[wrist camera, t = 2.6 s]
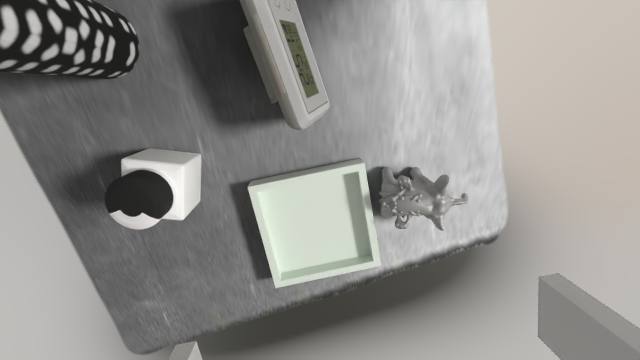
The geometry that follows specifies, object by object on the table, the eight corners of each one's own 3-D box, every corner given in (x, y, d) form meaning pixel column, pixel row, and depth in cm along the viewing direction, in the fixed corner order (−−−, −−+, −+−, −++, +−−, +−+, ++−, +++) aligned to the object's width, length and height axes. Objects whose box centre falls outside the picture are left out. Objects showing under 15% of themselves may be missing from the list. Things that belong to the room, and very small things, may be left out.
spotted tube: (113, -7, 37) (-83, -109, 18) (152, 61, 40) (14, 34, 20) (53, 24, 38) (-200, -45, 19) (95, 89, 40) (-92, 88, 21)
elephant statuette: (365, 171, 46) (375, 188, 39) (445, 143, 45) (471, 156, 37) (383, 225, 49) (395, 250, 41) (459, 200, 47) (485, 222, 40)
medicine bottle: (148, 147, 43) (92, 168, 31) (202, 153, 43) (166, 176, 32) (149, 196, 44) (96, 234, 33) (200, 201, 45) (167, 239, 34)
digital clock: (330, 116, 43) (340, 125, 33) (265, 126, 43) (254, 137, 33) (313, -16, 38) (318, -55, 28) (240, -6, 38) (218, -41, 28)
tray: (250, 180, 45) (247, 187, 42) (360, 158, 45) (364, 162, 42) (276, 276, 49) (275, 287, 46) (376, 255, 49) (381, 265, 46)
